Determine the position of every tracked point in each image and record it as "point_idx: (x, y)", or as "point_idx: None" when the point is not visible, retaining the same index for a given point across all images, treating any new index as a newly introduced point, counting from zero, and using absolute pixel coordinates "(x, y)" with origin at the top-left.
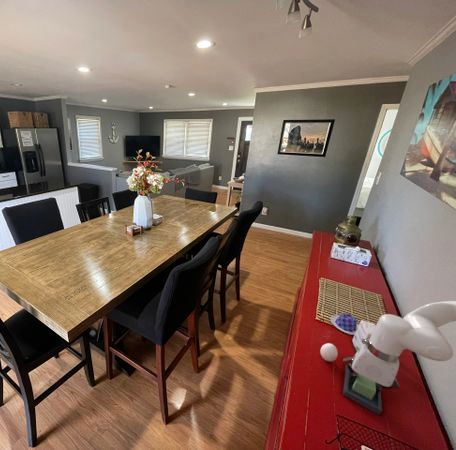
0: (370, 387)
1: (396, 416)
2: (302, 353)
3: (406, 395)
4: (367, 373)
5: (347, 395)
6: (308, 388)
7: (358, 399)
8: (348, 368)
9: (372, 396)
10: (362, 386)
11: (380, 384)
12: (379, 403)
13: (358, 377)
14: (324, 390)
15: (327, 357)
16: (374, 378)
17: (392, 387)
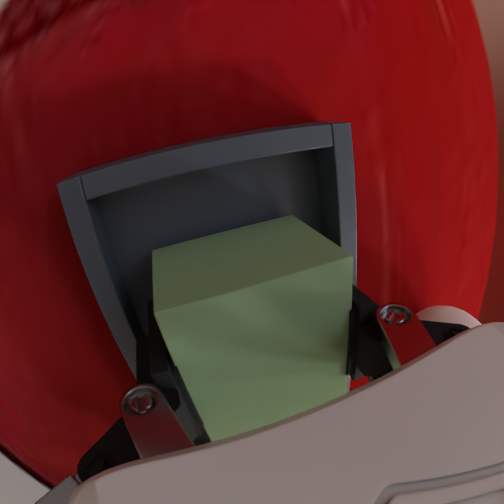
0: (218, 327)
1: (10, 277)
2: (484, 248)
3: (68, 444)
4: (452, 445)
5: (307, 123)
6: (449, 32)
7: (240, 134)
8: (454, 325)
9: (158, 268)
10: (283, 268)
11: (165, 442)
12: (93, 253)
13: (335, 339)
14: (405, 70)
15: (456, 316)
16: (314, 482)
17: (72, 485)
